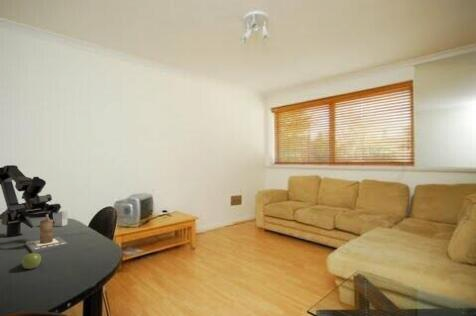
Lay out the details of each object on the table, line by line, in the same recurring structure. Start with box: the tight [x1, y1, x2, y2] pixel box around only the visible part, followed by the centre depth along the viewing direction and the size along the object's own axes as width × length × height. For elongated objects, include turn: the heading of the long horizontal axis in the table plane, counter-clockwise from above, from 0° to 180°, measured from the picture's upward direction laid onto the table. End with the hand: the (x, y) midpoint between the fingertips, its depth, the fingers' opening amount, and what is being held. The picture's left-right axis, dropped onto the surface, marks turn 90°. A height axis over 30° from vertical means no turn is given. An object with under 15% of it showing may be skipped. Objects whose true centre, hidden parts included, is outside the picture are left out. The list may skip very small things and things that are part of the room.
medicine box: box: [53, 210, 68, 227], centre depth 157 cm, size 8×4×9 cm, turn 84°
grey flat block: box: [25, 236, 69, 253], centre depth 119 cm, size 16×13×1 cm
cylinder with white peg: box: [39, 213, 54, 244], centre depth 120 cm, size 5×5×13 cm
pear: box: [21, 252, 42, 270], centre depth 96 cm, size 6×5×10 cm
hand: (43, 225), depth 122 cm, fingers open, 9 cm apart
